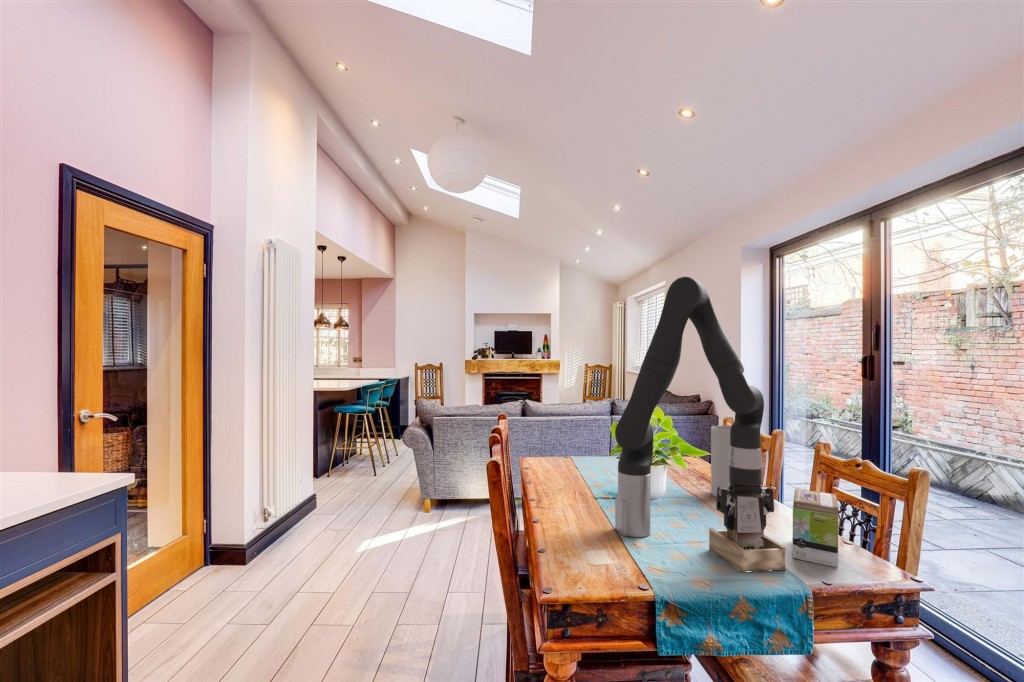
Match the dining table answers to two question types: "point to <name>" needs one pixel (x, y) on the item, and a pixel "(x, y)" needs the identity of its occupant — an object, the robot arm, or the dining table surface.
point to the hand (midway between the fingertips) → (745, 529)
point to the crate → (747, 553)
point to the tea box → (815, 527)
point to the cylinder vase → (720, 457)
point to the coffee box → (747, 521)
